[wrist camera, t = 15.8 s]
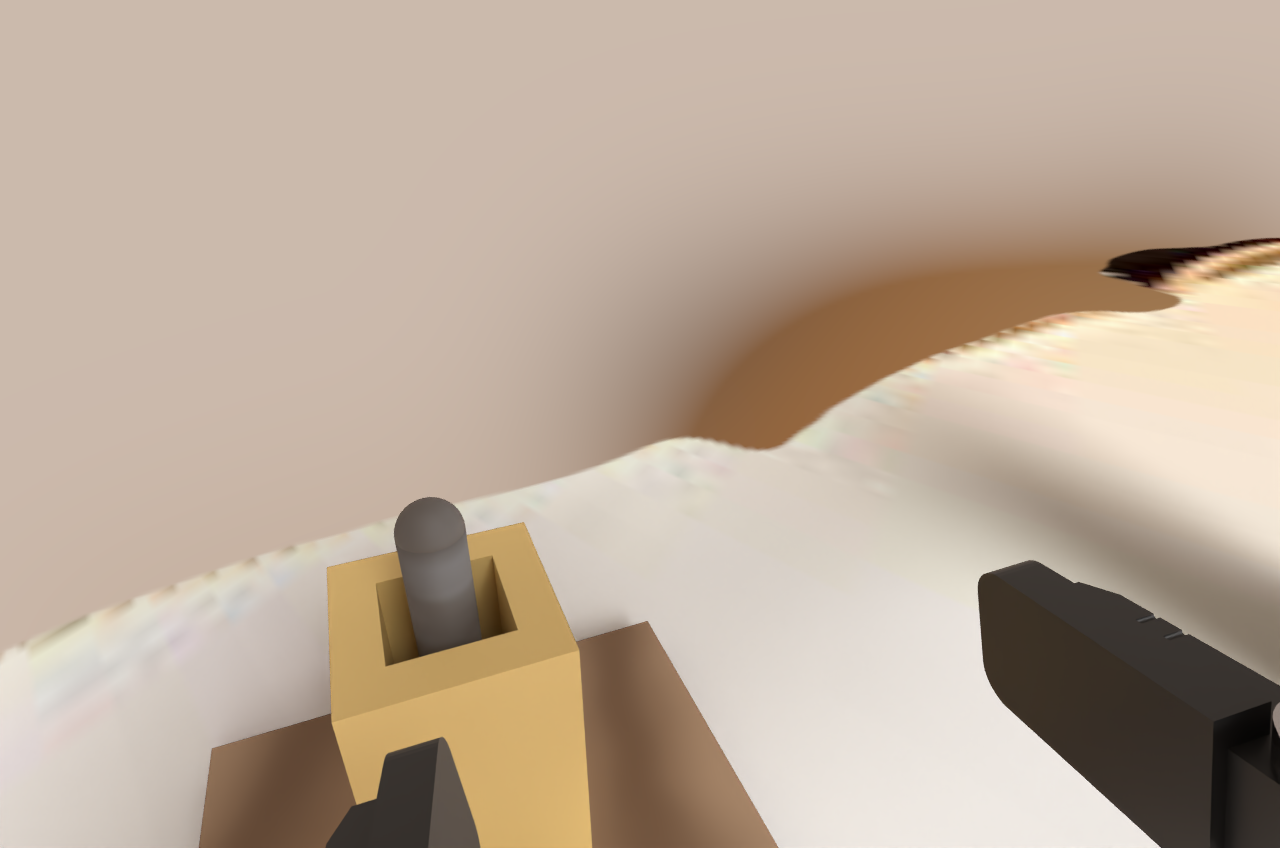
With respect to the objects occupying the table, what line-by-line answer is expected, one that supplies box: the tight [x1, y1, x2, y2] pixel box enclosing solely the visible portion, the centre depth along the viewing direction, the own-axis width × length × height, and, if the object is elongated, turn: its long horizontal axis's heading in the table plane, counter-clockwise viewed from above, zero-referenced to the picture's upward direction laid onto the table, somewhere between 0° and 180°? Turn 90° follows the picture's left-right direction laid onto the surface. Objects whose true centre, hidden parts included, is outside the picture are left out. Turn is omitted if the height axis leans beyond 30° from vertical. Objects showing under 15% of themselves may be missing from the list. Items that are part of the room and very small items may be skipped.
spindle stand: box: [199, 497, 778, 848], centre depth 22 cm, size 18×14×15 cm
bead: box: [327, 522, 592, 848], centre depth 23 cm, size 6×6×10 cm
